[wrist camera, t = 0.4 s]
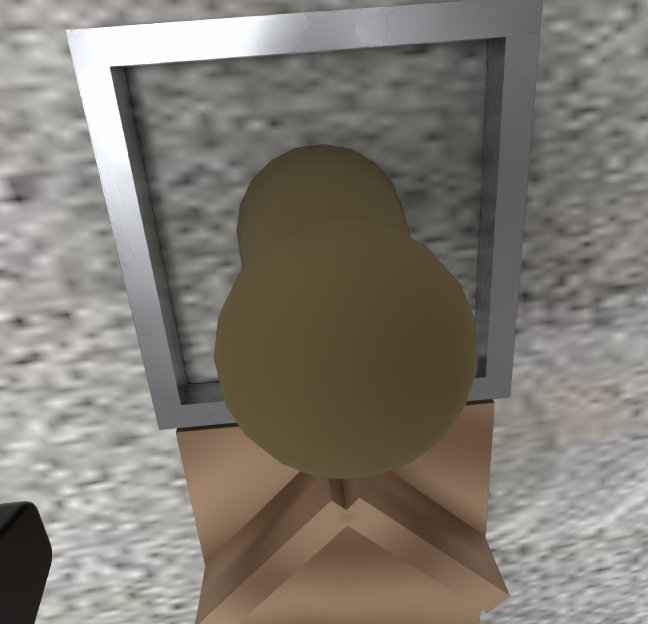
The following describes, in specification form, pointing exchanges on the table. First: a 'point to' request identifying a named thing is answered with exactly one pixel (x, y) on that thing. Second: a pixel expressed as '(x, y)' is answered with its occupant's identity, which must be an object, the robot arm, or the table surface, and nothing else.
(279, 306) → the cork
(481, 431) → the dog kennel
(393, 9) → the steel collar
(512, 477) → the table surface
